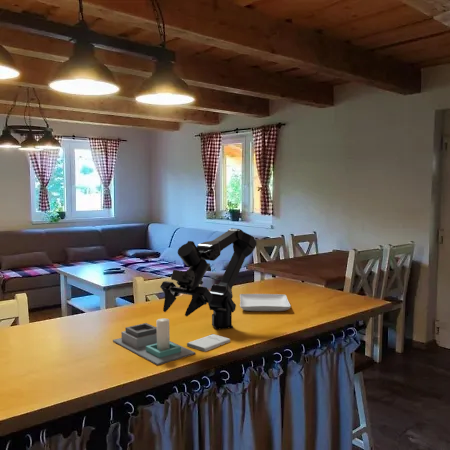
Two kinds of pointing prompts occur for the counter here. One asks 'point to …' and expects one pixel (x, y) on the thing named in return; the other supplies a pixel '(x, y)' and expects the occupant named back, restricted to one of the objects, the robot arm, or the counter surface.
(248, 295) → the salad plate
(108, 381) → the counter surface
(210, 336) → the external hard drive
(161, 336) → the plug
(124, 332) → the grey peg insertion board
